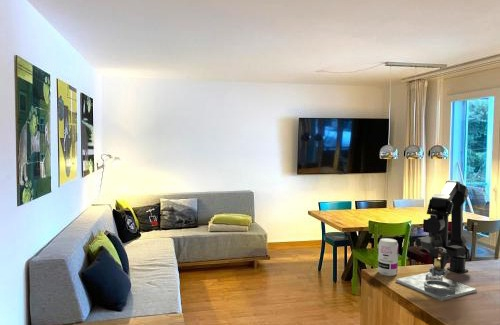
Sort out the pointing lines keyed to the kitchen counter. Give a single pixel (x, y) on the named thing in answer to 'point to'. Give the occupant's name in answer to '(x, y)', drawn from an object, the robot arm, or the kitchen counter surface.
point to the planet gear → (437, 268)
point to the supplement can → (388, 257)
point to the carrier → (436, 286)
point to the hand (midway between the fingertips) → (438, 267)
